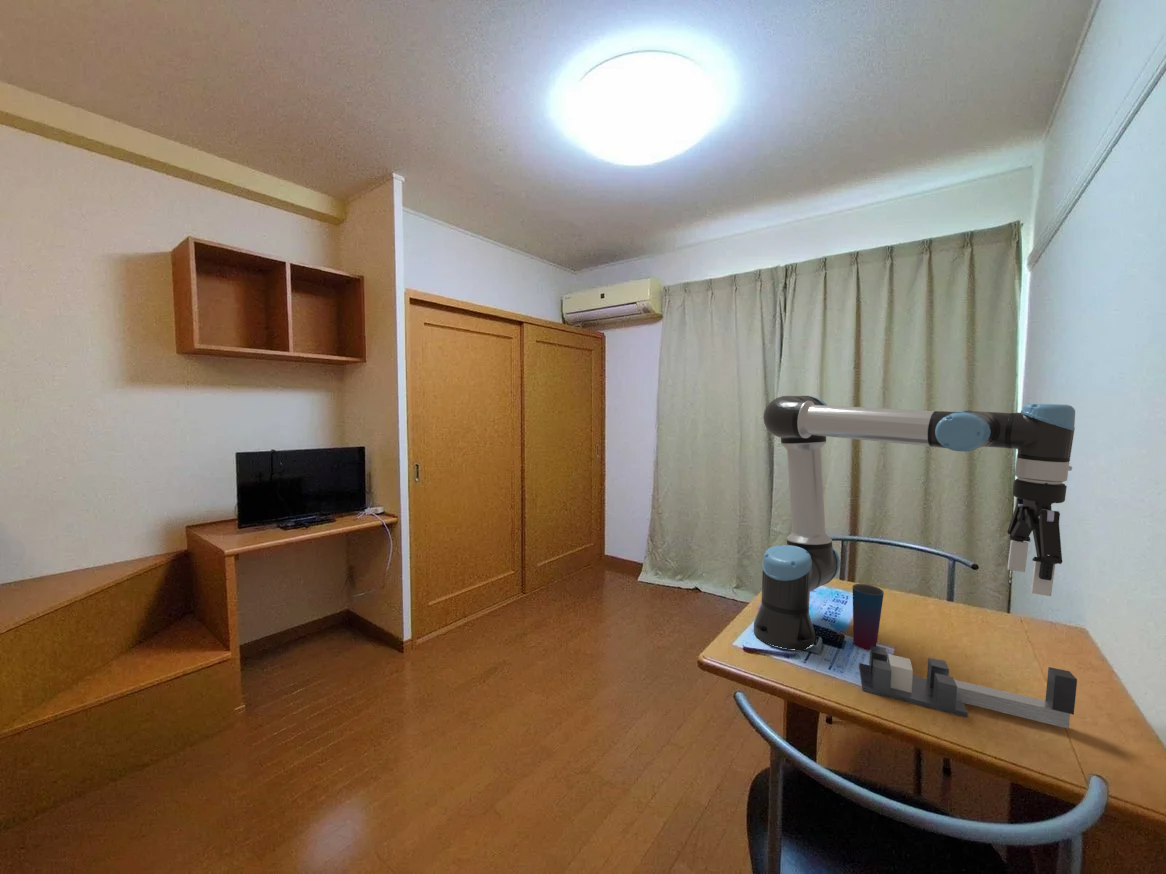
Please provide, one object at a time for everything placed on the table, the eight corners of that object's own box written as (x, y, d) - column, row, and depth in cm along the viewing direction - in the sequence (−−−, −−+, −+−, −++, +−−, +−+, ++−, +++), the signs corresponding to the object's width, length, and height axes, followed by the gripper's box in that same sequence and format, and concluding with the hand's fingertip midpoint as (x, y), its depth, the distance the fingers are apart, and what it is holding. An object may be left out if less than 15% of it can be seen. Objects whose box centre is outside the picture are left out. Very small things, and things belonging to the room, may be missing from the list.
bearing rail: (862, 690, 99) (863, 664, 99) (859, 666, 108) (860, 642, 107) (967, 717, 91) (969, 689, 90) (954, 689, 100) (956, 663, 99)
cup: (885, 653, 114) (888, 595, 112) (855, 650, 115) (858, 593, 114) (873, 639, 120) (876, 585, 119) (845, 636, 122) (848, 582, 120)
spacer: (911, 692, 97) (888, 687, 99) (908, 680, 101) (886, 675, 103) (912, 670, 96) (890, 665, 98) (909, 658, 101) (888, 654, 103)
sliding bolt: (937, 696, 96) (941, 651, 95) (934, 688, 98) (937, 644, 97) (1072, 729, 86) (1077, 679, 85) (1064, 719, 89) (1069, 671, 88)
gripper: (1097, 494, 79) (1081, 611, 81) (1040, 473, 101) (1029, 565, 103) (1039, 489, 82) (1025, 601, 85) (996, 469, 104) (986, 558, 106)
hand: (1027, 581), depth 94 cm, fingers open, 13 cm apart
